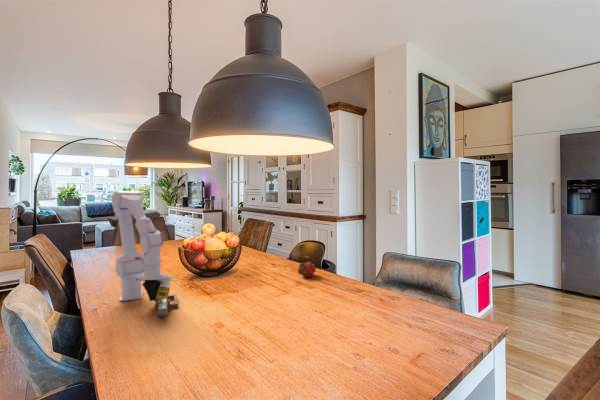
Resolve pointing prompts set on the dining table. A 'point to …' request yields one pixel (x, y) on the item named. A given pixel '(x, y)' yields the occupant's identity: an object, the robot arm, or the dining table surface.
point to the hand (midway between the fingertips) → (152, 299)
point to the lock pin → (162, 309)
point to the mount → (169, 306)
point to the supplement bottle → (163, 291)
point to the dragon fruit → (307, 269)
